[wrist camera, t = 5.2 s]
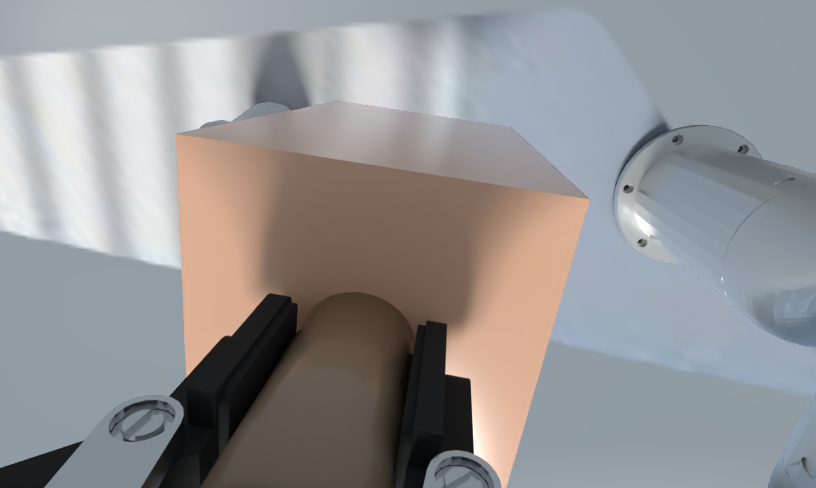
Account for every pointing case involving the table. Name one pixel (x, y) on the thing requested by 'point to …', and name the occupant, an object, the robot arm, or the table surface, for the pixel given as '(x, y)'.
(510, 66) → the table surface
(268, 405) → the cover
